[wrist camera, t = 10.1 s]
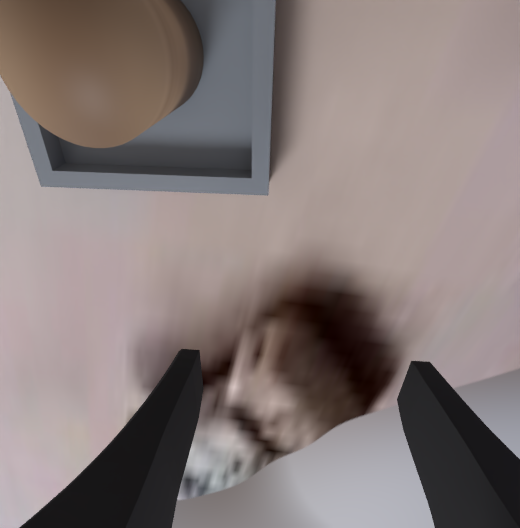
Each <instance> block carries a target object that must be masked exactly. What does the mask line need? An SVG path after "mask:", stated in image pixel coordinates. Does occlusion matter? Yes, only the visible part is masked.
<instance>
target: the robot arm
mask: <svg viewBox="0 0 520 528" xmlns="http://www.w3.org/2000/svg"><path fill="white" fill-rule="evenodd" d="M202 394H203V381H202V371H201V362H200V352H199V350H188V349H181V350H180V351H179V352H178V354H177V355H176V357H175V359H174V360H173V362H172V363H171V365H170V367H169V368H168V370H167V371H166V373H165V374H164V376H163V377H162V378H161V380H160V381H159V383H158V384H157V386H156V387H155V388H154V390H153V391H152V392H151V394H150V395H149V396H148V398H147V399H146V401H145V402H144V403H143V404H142V406H141V407H140V408H139V410H138V411H137V412H136V413H135V414H134V416H133V417H132V418H131V419H130V421H129V422H128V423H127V424H126V425H125V427H124V428H123V429H122V430H121V431H120V432H119V434H118V435H117V436H116V437H115V438H114V439H113V440H112V441H111V443H110V444H109V445H108V446H107V447H106V448H105V449H104V450H103V451H102V452H101V453H100V454H99V455H98V456H97V457H96V458H95V459H94V460H93V461H92V462H91V463H90V464H89V465H88V466H87V467H86V468H85V469H84V470H83V471H82V472H81V473H80V474H79V475H78V476H77V477H76V478H75V479H74V480H73V481H72V482H71V483H70V484H69V485H68V486H67V487H66V488H65V489H64V490H62V491H61V492H60V493H59V494H58V495H57V496H56V497H54V498H53V499H52V500H51V501H50V502H49V503H48V504H47V505H45V506H44V507H43V508H42V509H41V510H40V511H39V512H37V513H36V514H35V515H34V516H33V517H32V518H31V519H29V520H28V521H27V522H26V523H25V524H23V525H22V526H21V527H20V528H172V522H173V517H174V511H175V507H176V501H177V497H178V493H179V489H180V484H181V481H182V477H183V474H184V470H185V466H186V463H187V459H188V455H189V452H190V448H191V444H192V441H193V437H194V433H195V430H196V426H197V422H198V418H199V412H200V406H201V400H202ZM397 401H398V406H399V412H400V417H401V421H402V425H403V430H404V433H405V436H406V439H407V442H408V445H409V448H410V451H411V454H412V457H413V460H414V463H415V466H416V468H417V472H418V475H419V477H420V480H421V483H422V486H423V489H424V492H425V495H426V498H427V500H428V504H429V508H430V511H431V514H432V518H433V522H434V526H435V528H520V459H519V458H518V457H516V455H515V454H514V453H513V452H512V451H511V450H509V448H508V447H507V446H506V445H505V444H504V443H503V442H502V441H501V440H500V439H499V438H498V437H497V436H496V435H495V434H494V433H492V431H491V430H490V429H489V428H488V427H487V426H486V425H485V424H484V423H483V422H482V421H481V419H480V418H479V417H478V416H477V415H476V414H475V413H474V412H473V411H472V410H471V409H470V407H469V406H468V405H467V404H466V403H465V402H464V401H463V400H462V398H461V397H460V396H459V395H458V394H457V393H456V392H455V390H454V389H453V388H452V387H451V386H450V385H449V384H448V382H447V381H446V380H445V379H444V378H443V377H442V375H441V374H440V373H439V372H438V371H437V370H436V369H435V367H434V366H433V365H432V364H431V363H430V362H422V361H411V363H410V366H409V369H408V371H407V374H406V377H405V380H404V382H403V385H402V388H401V390H400V393H399V396H398V398H397Z"/></svg>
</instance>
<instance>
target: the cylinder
mask: <svg viewBox="0 0 520 528" xmlns="http://www.w3.org/2000/svg"><path fill="white" fill-rule="evenodd" d="M203 59H204V55H203V45H202V40H201V36H200V33H199V30H198V27H197V25H196V23H195V20H194V19H193V17H192V15H191V13H190V12H189V10H188V9H187V8H186V6H185V5H184V4H183V3H182V1H181V0H0V75H1V77H2V79H3V81H4V83H5V84H6V86H7V88H8V89H9V91H10V92H11V94H12V95H13V97H14V98H15V99H16V101H17V102H18V103H19V104H20V106H21V107H22V108H23V109H24V110H25V111H26V112H27V113H28V114H29V115H30V116H31V117H32V118H33V119H34V120H35V121H36V122H37V123H39V124H40V125H41V126H42V127H44V128H45V129H46V130H48V131H49V132H51V133H53V134H54V135H56V136H58V137H60V138H62V139H64V140H66V141H68V142H71V143H73V144H77V145H80V146H84V147H91V148H109V147H115V146H119V145H122V144H124V143H127V142H129V141H131V140H132V139H134V138H135V137H137V136H138V135H140V134H141V133H143V132H144V131H146V130H147V129H148V128H150V127H151V126H153V125H154V124H156V123H157V122H158V121H160V120H161V119H163V118H164V117H166V116H167V115H169V114H170V113H171V112H173V111H174V110H176V109H177V108H179V107H180V106H181V105H183V104H184V103H185V102H186V101H187V100H189V98H190V97H191V96H192V95H193V93H194V92H195V90H196V88H197V86H198V84H199V82H200V78H201V75H202V70H203Z"/></svg>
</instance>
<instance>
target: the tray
mask: <svg viewBox="0 0 520 528" xmlns="http://www.w3.org/2000/svg"><path fill="white" fill-rule="evenodd" d="M181 1H182V3H183V4H184V5H185V6H186V8H187V9H188V10H189V12H190V13H191V15H192V17H193V19H194V20H195V23H196V25H197V27H198V30H199V33H200V36H201V40H202V45H203V55H204V59H203V70H202V75H201V78H200V82H199V84H198V86H197V88H196V90H195V92H194V93H193V95H192V96H191V97H190V98H189V100H187V101H186V102H185V103H184V104H183V105H181V106H180V107H179V108H177V109H176V110H174V111H173V112H171V113H170V114H169V115H167V116H166V117H164V118H163V119H161V120H160V121H158V122H157V123H156V124H154V125H153V126H151V127H150V128H148V129H147V130H146V131H144V132H143V133H141V134H140V135H138V136H137V137H135V138H134V139H132V140H131V141H129V142H127V143H124V144H122V145H119V146H115V147H109V148H91V147H84V146H80V145H77V144H73V143H71V142H68V141H66V140H64V139H62V138H60V137H58V136H56V135H54V134H53V133H51V132H49V131H48V130H46V129H45V128H44V127H42V126H41V125H40V124H39V123H37V122H36V121H35V120H34V119H33V118H32V117H31V116H30V115H29V114H28V113H27V112H26V111H25V110H24V109H23V108H22V107H21V106H20V104H19V103H18V102H17V101H16V99H15V98H14V97H13V95H12V94H11V92H10V94H11V97H12V100H13V103H14V106H15V109H16V112H17V115H18V118H19V121H20V124H21V127H22V130H23V133H24V136H25V139H26V142H27V145H28V148H29V151H30V154H31V157H32V160H33V163H34V166H35V169H36V172H37V175H38V179H39V182H40V185H41V187H67V188H92V189H118V190H144V191H169V192H195V193H220V194H246V195H268V191H269V173H270V147H271V120H272V94H273V68H274V42H275V15H276V0H181Z"/></svg>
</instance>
